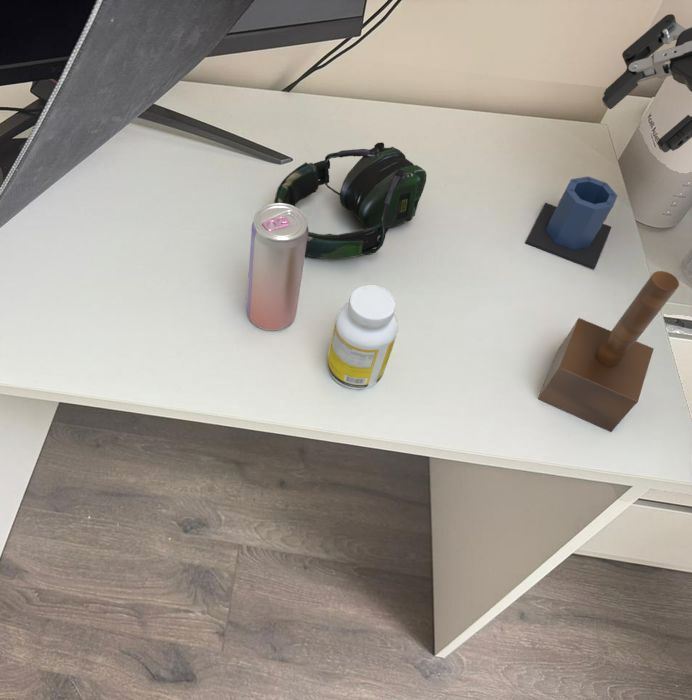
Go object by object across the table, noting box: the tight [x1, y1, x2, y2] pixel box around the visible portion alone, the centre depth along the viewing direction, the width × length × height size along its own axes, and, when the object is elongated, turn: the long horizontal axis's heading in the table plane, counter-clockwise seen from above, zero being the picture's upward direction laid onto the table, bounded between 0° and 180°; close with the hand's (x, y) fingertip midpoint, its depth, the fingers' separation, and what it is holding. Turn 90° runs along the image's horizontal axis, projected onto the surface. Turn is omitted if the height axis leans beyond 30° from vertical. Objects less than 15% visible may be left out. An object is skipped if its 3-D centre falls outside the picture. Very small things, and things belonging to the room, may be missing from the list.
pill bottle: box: [326, 284, 399, 390], centre depth 76 cm, size 6×6×12 cm
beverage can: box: [246, 202, 309, 332], centre depth 79 cm, size 6×6×15 cm
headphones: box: [273, 142, 427, 260], centre depth 92 cm, size 13×13×20 cm
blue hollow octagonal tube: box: [546, 176, 618, 250], centre depth 91 cm, size 6×6×7 cm
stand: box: [537, 270, 680, 432], centre depth 72 cm, size 8×8×18 cm
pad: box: [524, 202, 612, 270], centre depth 94 cm, size 9×9×1 cm
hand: (632, 125), depth 78 cm, fingers open, 8 cm apart
